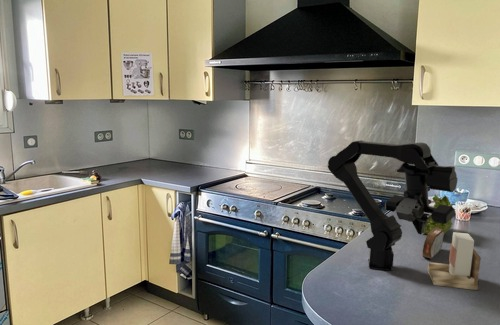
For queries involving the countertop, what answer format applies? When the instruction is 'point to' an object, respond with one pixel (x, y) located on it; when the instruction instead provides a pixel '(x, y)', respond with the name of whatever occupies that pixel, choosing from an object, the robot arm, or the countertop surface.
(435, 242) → the tin
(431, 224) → the green leafy lettuce
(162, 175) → the countertop surface
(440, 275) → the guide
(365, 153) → the robot arm
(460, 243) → the white milk carton
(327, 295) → the countertop surface
